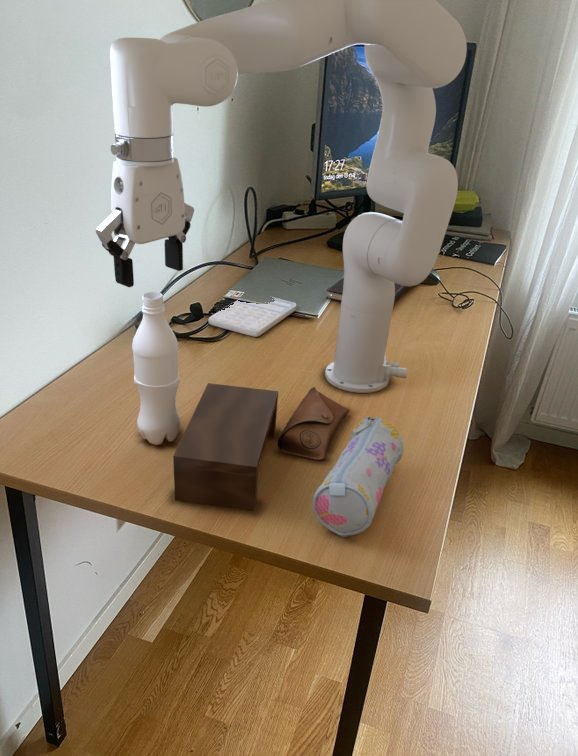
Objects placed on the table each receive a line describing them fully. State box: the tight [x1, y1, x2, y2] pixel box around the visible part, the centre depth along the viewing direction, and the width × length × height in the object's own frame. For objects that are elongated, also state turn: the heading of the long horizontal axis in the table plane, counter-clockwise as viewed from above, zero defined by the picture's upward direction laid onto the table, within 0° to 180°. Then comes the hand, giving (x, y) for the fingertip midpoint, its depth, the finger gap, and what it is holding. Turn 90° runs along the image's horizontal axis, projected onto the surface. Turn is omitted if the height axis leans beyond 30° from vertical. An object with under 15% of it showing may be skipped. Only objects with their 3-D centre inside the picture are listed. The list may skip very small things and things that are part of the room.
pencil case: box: [312, 416, 405, 538], centre depth 97 cm, size 21×9×10 cm, turn 156°
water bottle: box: [131, 291, 182, 446], centre depth 105 cm, size 7×7×25 cm
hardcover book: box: [325, 276, 412, 304], centre depth 170 cm, size 16×23×2 cm
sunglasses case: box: [276, 386, 351, 461], centre depth 114 cm, size 18×7×7 cm
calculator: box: [207, 296, 297, 338], centre depth 155 cm, size 13×20×2 cm, turn 149°
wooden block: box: [172, 382, 279, 512], centre depth 104 cm, size 12×22×8 cm, turn 170°
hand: (150, 276), depth 96 cm, fingers open, 9 cm apart
